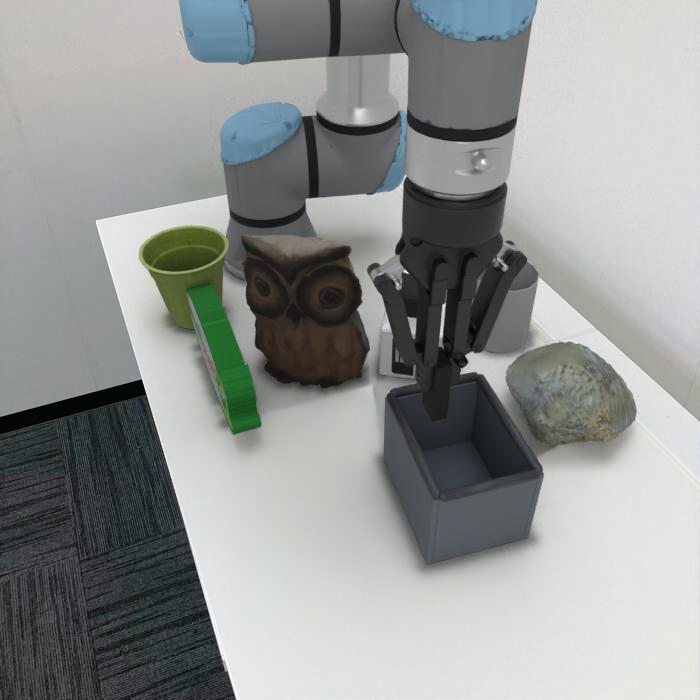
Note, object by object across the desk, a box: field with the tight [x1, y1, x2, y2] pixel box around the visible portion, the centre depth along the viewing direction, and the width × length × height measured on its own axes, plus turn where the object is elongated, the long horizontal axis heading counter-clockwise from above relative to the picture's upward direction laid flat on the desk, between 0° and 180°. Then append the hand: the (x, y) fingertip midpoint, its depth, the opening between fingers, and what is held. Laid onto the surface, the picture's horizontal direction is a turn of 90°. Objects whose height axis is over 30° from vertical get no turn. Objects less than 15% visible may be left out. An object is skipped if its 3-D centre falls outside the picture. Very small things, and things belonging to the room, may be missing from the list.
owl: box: [241, 233, 371, 390], centre depth 86 cm, size 13×13×20 cm
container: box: [378, 270, 446, 380], centre depth 89 cm, size 8×8×13 cm
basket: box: [382, 371, 545, 565], centre depth 72 cm, size 15×11×11 cm
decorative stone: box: [505, 340, 638, 447], centre depth 82 cm, size 14×15×10 cm
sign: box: [186, 283, 263, 436], centre depth 87 cm, size 26×3×10 cm, turn 21°
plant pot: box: [138, 224, 229, 330], centre depth 97 cm, size 12×12×11 cm
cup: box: [471, 261, 540, 354], centre depth 94 cm, size 8×8×10 cm
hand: (434, 409), depth 66 cm, fingers closed
